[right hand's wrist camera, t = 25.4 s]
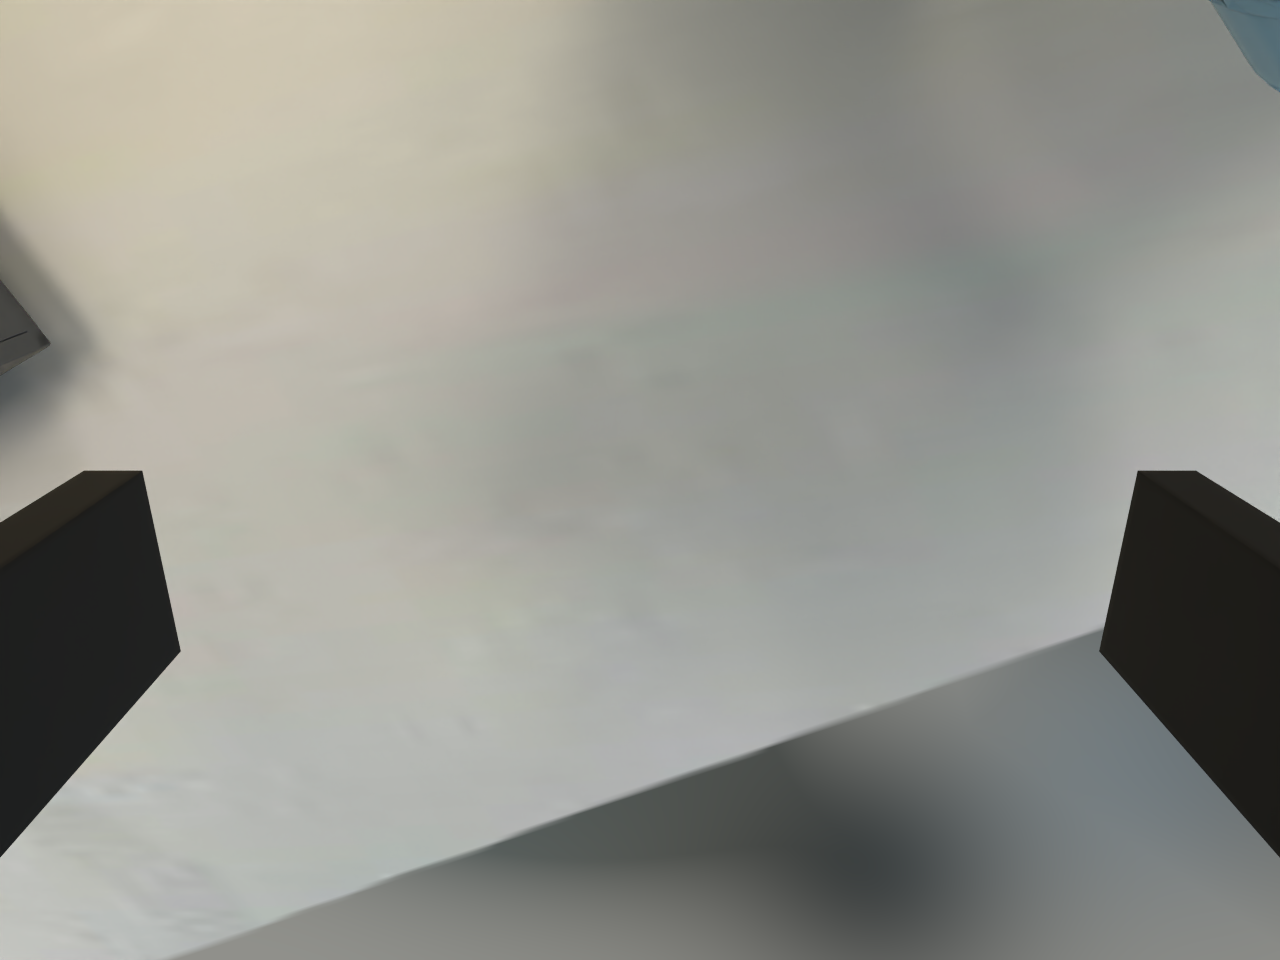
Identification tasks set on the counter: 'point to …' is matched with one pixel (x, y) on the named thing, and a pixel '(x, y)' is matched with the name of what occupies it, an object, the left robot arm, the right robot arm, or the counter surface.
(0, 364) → the box
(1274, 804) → the right robot arm
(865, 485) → the counter surface
